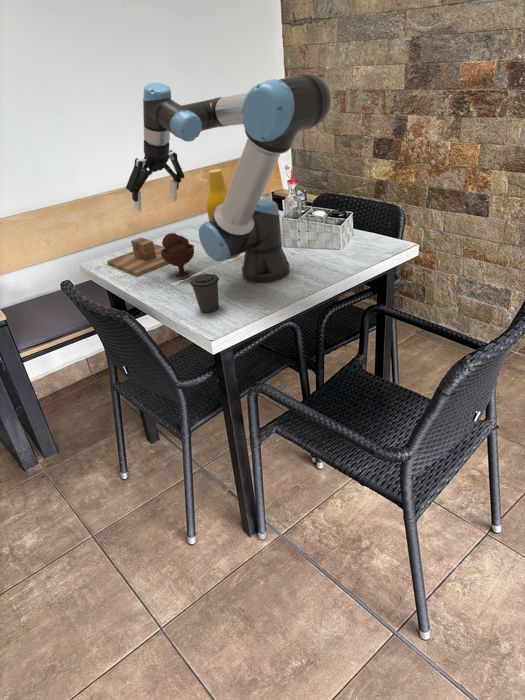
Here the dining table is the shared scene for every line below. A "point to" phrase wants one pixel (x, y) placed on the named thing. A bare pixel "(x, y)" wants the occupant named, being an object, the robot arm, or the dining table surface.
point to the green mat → (133, 275)
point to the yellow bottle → (216, 192)
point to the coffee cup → (206, 292)
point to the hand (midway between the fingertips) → (155, 203)
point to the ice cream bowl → (177, 252)
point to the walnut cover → (140, 258)
